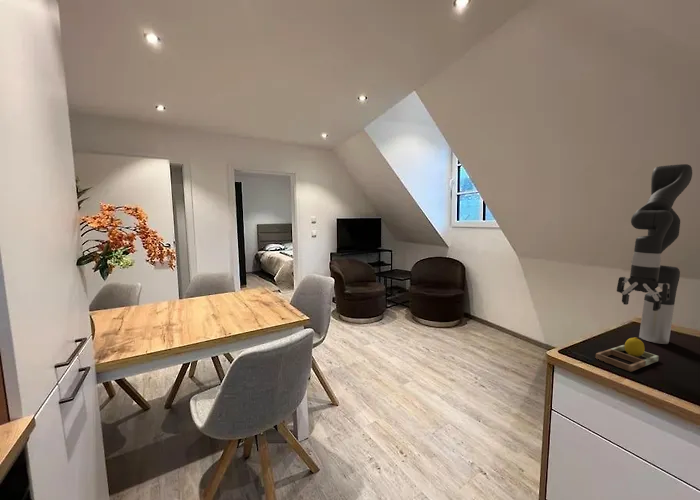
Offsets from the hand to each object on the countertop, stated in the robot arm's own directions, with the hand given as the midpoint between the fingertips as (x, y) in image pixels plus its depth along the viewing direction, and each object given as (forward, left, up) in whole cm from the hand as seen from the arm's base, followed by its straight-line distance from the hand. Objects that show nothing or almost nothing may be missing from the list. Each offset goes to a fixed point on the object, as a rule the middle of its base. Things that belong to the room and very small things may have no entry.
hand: (639, 307), depth 112 cm
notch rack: (+5, 0, -20) cm, 20 cm away
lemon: (0, 0, -20) cm, 20 cm away
